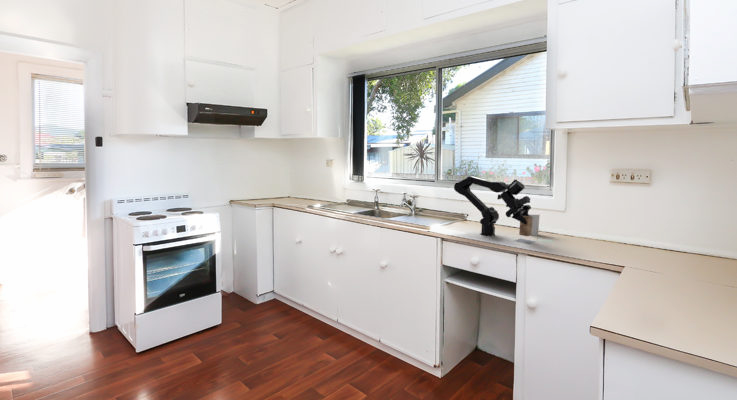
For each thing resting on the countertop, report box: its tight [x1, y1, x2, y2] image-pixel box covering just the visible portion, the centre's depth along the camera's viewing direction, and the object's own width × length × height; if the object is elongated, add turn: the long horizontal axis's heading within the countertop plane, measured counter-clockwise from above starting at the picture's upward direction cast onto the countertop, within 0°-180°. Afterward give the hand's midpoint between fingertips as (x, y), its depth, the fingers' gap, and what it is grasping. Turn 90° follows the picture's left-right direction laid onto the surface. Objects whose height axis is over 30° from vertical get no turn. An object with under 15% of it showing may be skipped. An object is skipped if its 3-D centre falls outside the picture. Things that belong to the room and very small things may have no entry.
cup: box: [528, 212, 540, 236], centre depth 237 cm, size 8×8×12 cm
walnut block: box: [518, 216, 532, 237], centre depth 216 cm, size 4×4×10 cm
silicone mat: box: [513, 238, 538, 245], centre depth 217 cm, size 9×9×1 cm
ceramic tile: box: [536, 238, 555, 244], centre depth 219 cm, size 8×8×1 cm
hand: (528, 223), depth 215 cm, fingers closed on walnut block, 4 cm apart
